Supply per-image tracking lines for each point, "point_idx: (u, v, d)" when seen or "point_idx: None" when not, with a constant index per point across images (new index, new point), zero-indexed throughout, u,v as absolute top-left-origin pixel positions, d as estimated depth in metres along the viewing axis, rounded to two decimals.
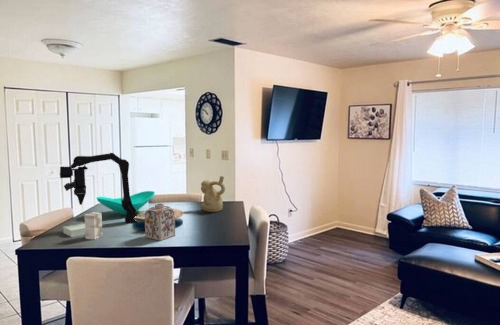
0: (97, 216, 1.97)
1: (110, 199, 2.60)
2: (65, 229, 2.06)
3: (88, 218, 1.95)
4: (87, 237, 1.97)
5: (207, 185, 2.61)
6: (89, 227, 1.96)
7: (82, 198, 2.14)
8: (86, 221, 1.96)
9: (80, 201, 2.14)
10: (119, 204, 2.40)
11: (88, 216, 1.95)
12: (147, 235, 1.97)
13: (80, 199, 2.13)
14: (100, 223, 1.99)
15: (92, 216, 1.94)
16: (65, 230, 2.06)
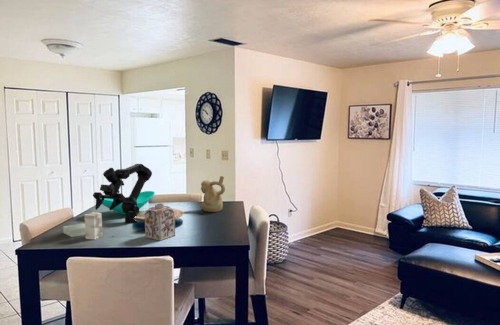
0: (97, 216, 1.97)
1: (110, 199, 2.60)
2: (65, 229, 2.06)
3: (88, 218, 1.95)
4: (87, 237, 1.97)
5: (207, 185, 2.61)
6: (89, 227, 1.96)
7: (115, 205, 2.07)
8: (86, 221, 1.96)
9: (112, 207, 2.05)
10: (119, 204, 2.40)
11: (88, 216, 1.95)
12: (147, 235, 1.97)
13: (113, 205, 2.06)
14: (100, 223, 1.99)
15: (92, 216, 1.94)
16: (65, 230, 2.06)
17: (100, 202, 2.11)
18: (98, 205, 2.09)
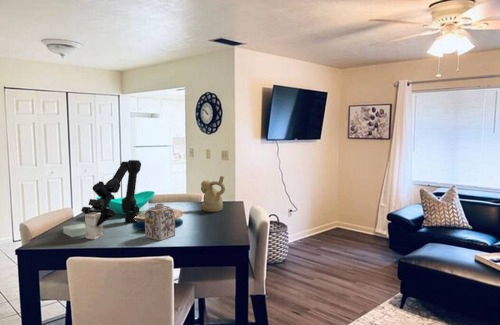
0: (97, 216, 1.96)
1: None
2: (65, 229, 2.06)
3: (89, 218, 1.95)
4: (87, 237, 1.97)
5: (207, 185, 2.61)
6: (89, 227, 1.96)
7: (103, 221, 1.99)
8: (86, 221, 1.96)
9: (99, 222, 1.97)
10: (119, 204, 2.40)
11: (88, 216, 1.95)
12: (147, 235, 1.97)
13: (101, 220, 1.97)
14: None
15: (92, 216, 1.94)
16: (65, 230, 2.06)
17: None
18: None
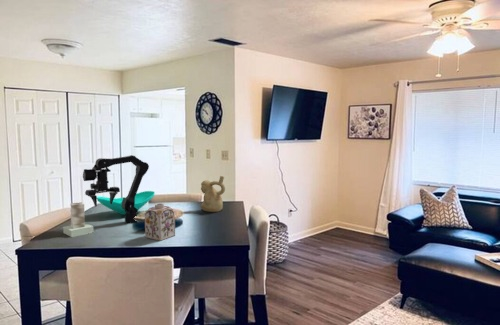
0: (78, 206, 2.05)
1: None
2: (65, 229, 2.06)
3: (71, 207, 2.06)
4: (71, 225, 2.08)
5: (207, 185, 2.61)
6: (71, 215, 2.07)
7: (94, 200, 2.15)
8: (71, 209, 2.08)
9: (94, 203, 2.16)
10: (119, 204, 2.40)
11: (71, 205, 2.06)
12: (147, 235, 1.97)
13: (93, 201, 2.16)
14: (82, 213, 2.07)
15: (72, 205, 2.04)
16: (65, 230, 2.06)
17: (111, 196, 2.23)
18: (110, 199, 2.23)
